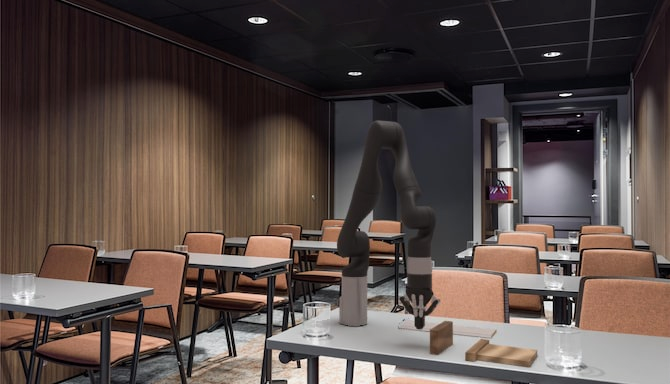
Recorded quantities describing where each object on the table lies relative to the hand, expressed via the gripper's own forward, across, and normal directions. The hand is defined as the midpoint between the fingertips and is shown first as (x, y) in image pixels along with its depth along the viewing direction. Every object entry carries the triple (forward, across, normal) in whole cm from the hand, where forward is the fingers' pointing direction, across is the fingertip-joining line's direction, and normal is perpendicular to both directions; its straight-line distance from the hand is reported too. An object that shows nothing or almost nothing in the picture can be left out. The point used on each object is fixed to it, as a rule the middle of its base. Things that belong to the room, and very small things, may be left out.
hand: (419, 328), depth 164 cm
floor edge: (+5, +25, 0) cm, 25 cm away
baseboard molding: (+6, +1, +23) cm, 24 cm away
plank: (+5, +7, 0) cm, 9 cm away
